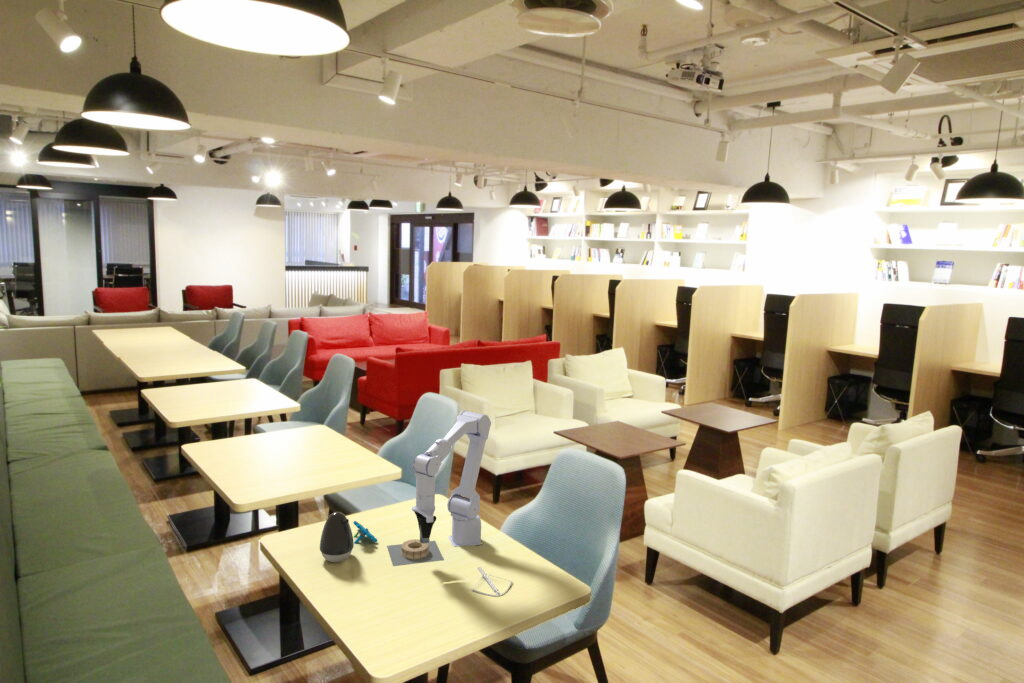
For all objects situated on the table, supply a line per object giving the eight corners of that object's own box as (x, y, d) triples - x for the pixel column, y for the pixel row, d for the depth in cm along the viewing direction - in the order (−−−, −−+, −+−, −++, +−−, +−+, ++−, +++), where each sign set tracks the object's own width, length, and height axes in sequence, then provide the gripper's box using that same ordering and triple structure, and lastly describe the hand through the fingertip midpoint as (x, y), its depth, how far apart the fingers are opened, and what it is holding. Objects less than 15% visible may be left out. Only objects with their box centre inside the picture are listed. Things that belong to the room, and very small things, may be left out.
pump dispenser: (334, 570, 196) (334, 522, 194) (313, 559, 203) (312, 512, 200) (360, 558, 204) (361, 512, 202) (339, 547, 211) (339, 503, 208)
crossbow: (519, 596, 188) (519, 589, 188) (478, 604, 183) (479, 598, 183) (498, 567, 202) (498, 561, 202) (459, 574, 197) (460, 568, 197)
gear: (381, 542, 212) (359, 523, 209) (369, 557, 211) (346, 538, 207) (374, 532, 222) (352, 515, 219) (362, 547, 221) (340, 529, 218)
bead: (425, 545, 214) (425, 538, 213) (430, 557, 206) (430, 549, 205) (399, 548, 211) (399, 541, 211) (403, 560, 203) (403, 552, 203)
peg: (428, 538, 203) (428, 520, 202) (430, 542, 200) (430, 524, 200) (418, 539, 202) (419, 521, 201) (420, 543, 199) (421, 525, 199)
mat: (434, 542, 217) (434, 540, 217) (444, 561, 204) (444, 559, 204) (386, 547, 212) (386, 545, 212) (392, 567, 199) (393, 565, 199)
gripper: (408, 486, 205) (407, 526, 207) (417, 503, 191) (416, 547, 193) (430, 484, 207) (429, 524, 209) (440, 501, 193) (439, 544, 195)
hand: (424, 535), depth 201 cm, fingers closed on peg, 3 cm apart
